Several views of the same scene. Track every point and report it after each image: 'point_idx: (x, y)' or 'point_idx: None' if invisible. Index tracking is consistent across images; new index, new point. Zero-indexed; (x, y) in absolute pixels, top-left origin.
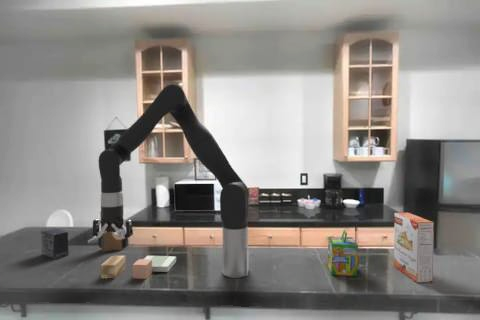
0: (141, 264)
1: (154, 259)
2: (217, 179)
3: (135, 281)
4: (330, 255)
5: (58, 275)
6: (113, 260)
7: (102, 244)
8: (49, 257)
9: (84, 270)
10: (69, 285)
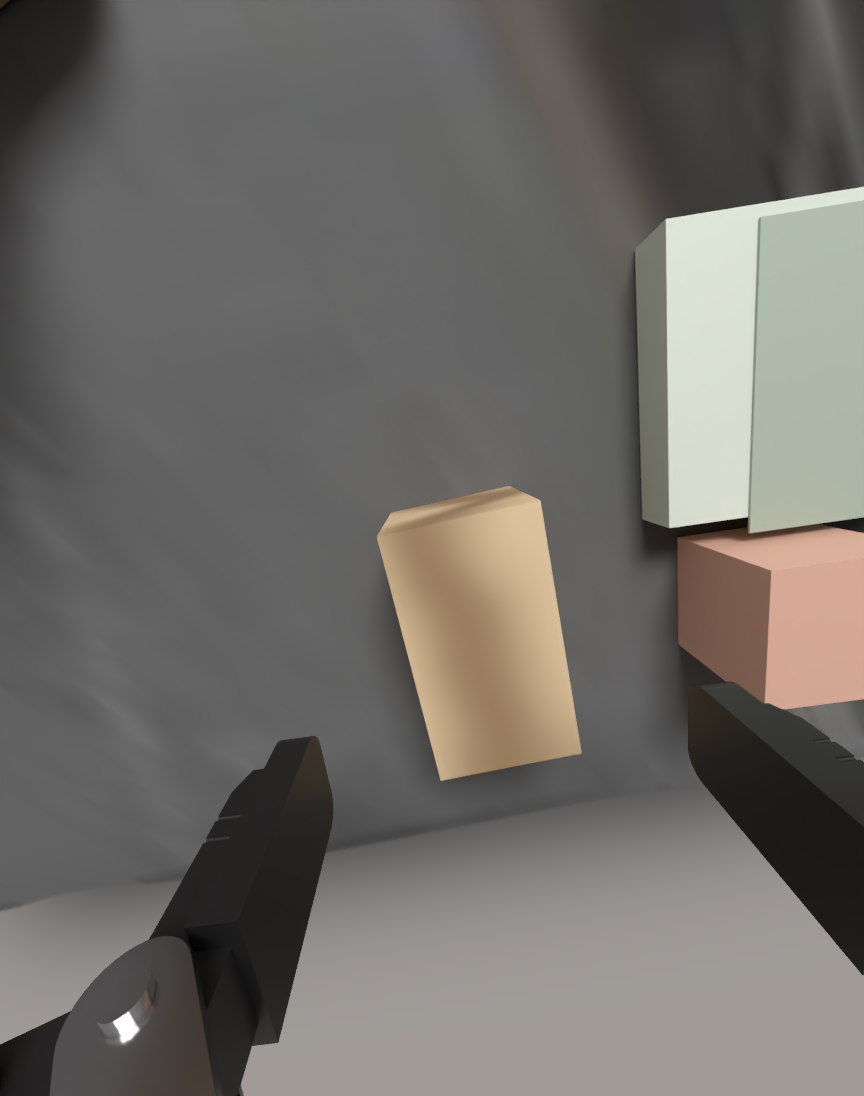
0: (858, 691)
1: (807, 332)
2: None
3: None
4: None
5: (79, 727)
6: (490, 660)
7: (313, 826)
8: None
9: (189, 611)
10: None
